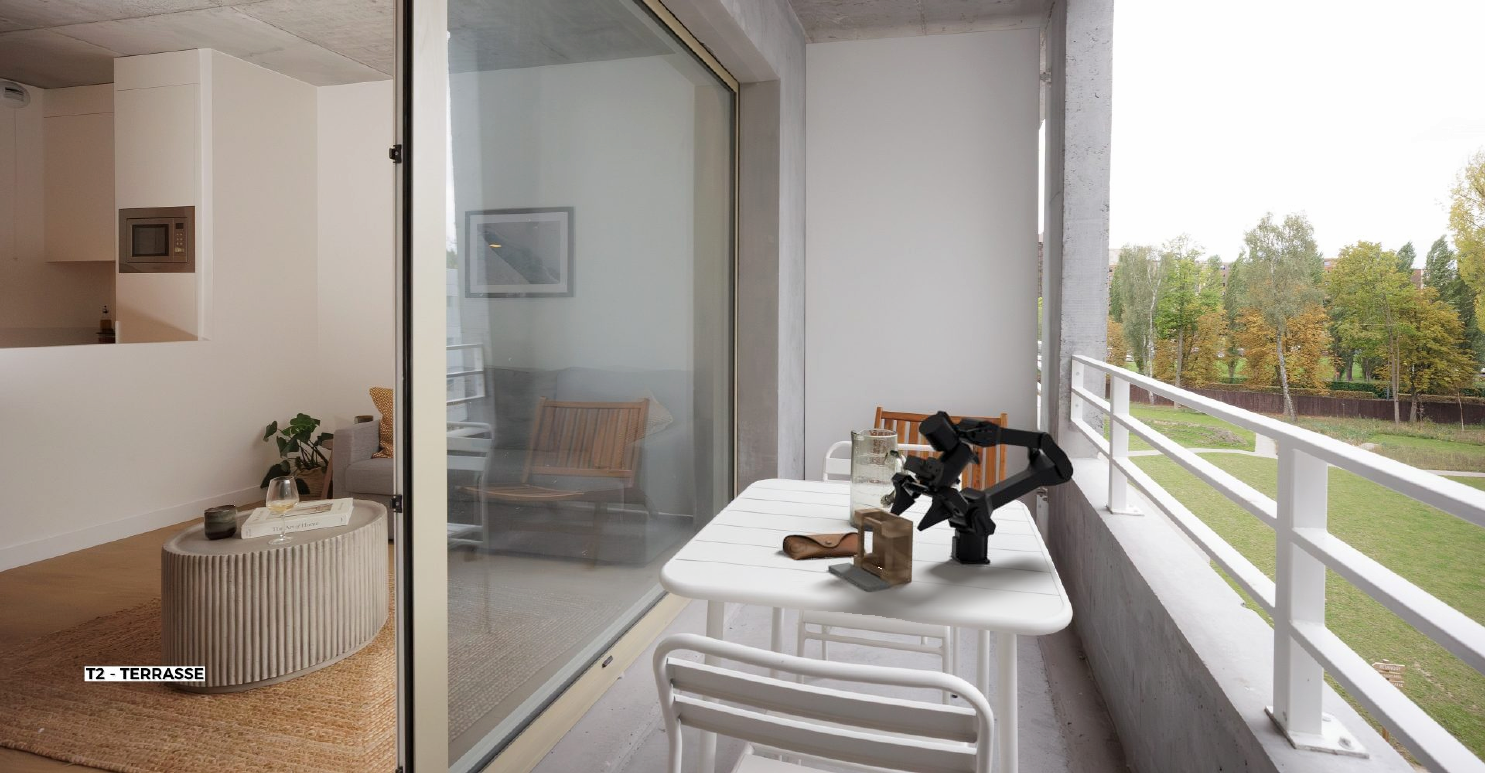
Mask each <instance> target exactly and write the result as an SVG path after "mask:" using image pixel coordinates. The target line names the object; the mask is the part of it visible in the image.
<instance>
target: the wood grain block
mask: <svg viewBox="0 0 1485 773" xmlns="http://www.w3.org/2000/svg"><path fill="white" fill-rule="evenodd" d="M853 520H854V521H853V522H854V524H856V525H857V533H858V546H857V555H854V556H853V563H852V564H853V565H855V566H857V567H859V568H861V569H862V570H865V571H869V572H870V573H873V574H875V575H876V576H879V578H880V579H882V580H884V581H886V582H888V583H890V586H894V585H893V584H896V585H901V584H907V583H912V579H913V575H912V574H913V550H914V548H913V545H914V521H913V520H911V519H907V518H905V517H902V516H900V515H899V516H897V515H895V514H892V513H890V511H886V510H884V509H882V508H878V507H872V508H871V507H870V508H864V509H863V508H861V509H855V510H854V519H853ZM866 526H872V545H871V546H872V547H871V552H866V553H864V549H865V537H866V535H865V534H866V532H865V531H866ZM878 567H880V568H882V569H880V568H878Z"/></svg>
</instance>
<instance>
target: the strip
mask: <svg viewBox="0 0 1485 773" xmlns="http://www.w3.org/2000/svg"><path fill="white" fill-rule="evenodd" d="M827 568H828V569H829V571H830V572H832V571H833V572H832V573H834V574H835V573H836V575H837V574H839V575H840V577H841V576H842V577H841V578H843V577H844V578H846V579H847V580H846V579H845V580H846V581H848V580H849V582H850V581H851V582H850V583H852V582H853V583H852V584H854V585H855V584H857V585H859V586H860V587H859V586H858V587H859V588H861V587H862V588H861V589H863V588H864V589H866V590H867V592H868V591H869V592H873V591H872V590H875V591H878V590H877V589H880V590H884V589H883V588H886V589H890V588H891V585H890V583H888V582H886V581H884V580H882V579H881V577H877V575H874V574H872V573H871V572H868V571H867V570H865V571H864V570H862V569H861V568H859V567H857V566H855V565H853V563H851V562H844V563H838V564H831V565H830V564H829V565H828V567H827ZM839 575H838V576H839ZM844 578H843V579H844ZM857 585H856V586H857ZM864 589H863V590H864ZM866 590H865V591H866Z"/></svg>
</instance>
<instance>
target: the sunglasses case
mask: <svg viewBox="0 0 1485 773" xmlns="http://www.w3.org/2000/svg"><path fill="white" fill-rule="evenodd" d="M857 546H858V531H857V532H856V531H850V532H845V533H821V534H820V533H819V534H789V535H786V536H785V537H784V538H783V540H782V551H784V553H785V554H786V555H787V556H788V557H790V558H791V559H792V560H793V561H803V560H813V558H818V559H826V558H825V557H834V558H849V557H851V556H853V557H854V555H857ZM864 553H867V551H866V549H865V548H864ZM811 558H812V559H811Z"/></svg>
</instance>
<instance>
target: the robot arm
mask: <svg viewBox="0 0 1485 773" xmlns="http://www.w3.org/2000/svg"><path fill="white" fill-rule="evenodd" d="M918 432H919V434H920V435H921V436H922V437H923V438H924V439H925V441H926V442H927V444H928V445H929V446H930V447H931V449H932V450H933V451H934V452H937V453H940V454H939V455H938V456H937V458H935V457H933V456H928V457H927V458H926V459H925V458H922V457H920V456H917V455H911V454H907V456H906V458H905V461H904V464H903V466H902V470H905V471H909V472H911V473H913V474H915V475H914V477H913V475H911V474H908V473H907V472H906V473H905V472H902V471H900V472H899V471H898V472H895V473H894V474H893V475H892V477H891V479H890V481H891V482H892V486H893V487H894V489H895V494H894V499H893V503H892V505H891V509H890V511H889V512H890V513H892V514H895V515H897V516H900V515H902V514H903V513H905V511H907V510H908V509H909V508H911V507H912V506H913V505H914V504H916V503H917V499H919V498H920V497H921V495H922V496H925V497H928V498H931V504H930V506H929V508H928V509H927V511H926V513H925V514H924V516H922V519H921V520H920V522H918V524H917V527H916V529H917V530H918V531H919V532H923V531H925V530H927V529H929V528H932V527H934V526H935V525H938V524H939V523H942V522H945V521H947V522H948V525H949V527H950V528H952V529H954V535H952V537H951V553H950V556H952V557H953V558H955V560H956V561H958V562H959V563H960V564H991V559H989V558H988V554H989V552H988V550H989V549H988V548H989V547H988V546H989V537H990V536H992V535H994V534H995V531H996V528H997V524H996V523H995V521H993V519H992V515H993V512H994V511H996V510H997V509H1000V508H1001V507H1003V506H1006V505H1007V504H1010V503H1012V502H1014V501H1016V500H1017V499H1020V498H1022V497H1024V496H1026V495H1027V494H1030V493H1031V492H1034V491H1036V490H1037V489H1040V488H1044V487H1045V488H1047V487H1058V486H1062V485H1065V484H1067V483H1069V482H1070V481H1071V479H1072V477H1073V475H1074V467H1073V463H1072V462H1071V460H1070V459H1069V456H1068V455H1067V453H1066V452H1065V451H1064V450H1063V449H1062V448H1061V447H1060V446H1059V445H1058V443H1056V442H1055V441H1054V438H1053V437H1052V435H1051V434H1050V433H1048V432H1046V431H1042V430H1036V429H1031V430H1029V429H1020V428H1015V427H1014V428H1013V427H1004V426H1001V425H999V424H998V423H995V422H992V421H990V420H987V419H980V418H975V417H970V416H967V417H966V416H965V417H963V418H961V419H960V421H959V422H957V423H954V421H953V420H952V419H951V418H950V415H949V414H948V412H947V411H943V410H938V411H937V412H936V413H935V414H932V415H930V416H928V417H926V418H925V419H923V420H922V421H921V422H920V424H919V426H918ZM998 445H1006V446H1015V447H1021V448H1022V447H1023V448H1024V447H1025V448H1026V449H1027V452H1026V454H1027V455H1026V456H1027V460H1028V463H1027V464H1028V465H1027V467H1026V468H1025V469H1024V470H1022V471H1020V472H1017V473H1016V474H1014V475H1011V476H1009V477H1007V478H1005V479H1003V480H1000V481H999V482H997V483H995V484H993V485H991V486H989V487H987V488H985V489H983V490H980V489H977V488H973V487H969V486H966V487H964V488H962V489H961V490H960V491H959V489H957V488H956V487H953V485H956V486H957V485H959V484H960V483H962V481H961V479H960V478H959V477H960V476H961V474H962V473H963V472H964V471H965V469H966V468H967V467H968V466H969V464H972V465H977V466H979V465H980V464H981V461H980V456H979V453H980V452H979V451H978V450H977V451H976V450H973V449H972V448H971V446H974V447H979V448H983V449H984V448H993V447H997V446H998ZM1040 450H1041V451H1042V453H1041V451H1040ZM916 480H917V481H919V483H918V482H917V481H916Z"/></svg>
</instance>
